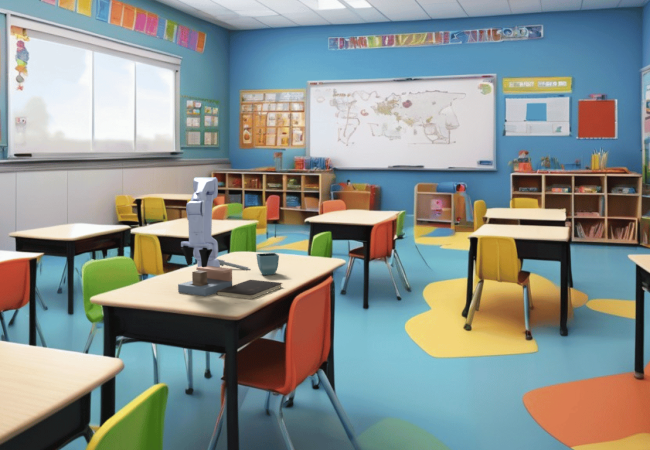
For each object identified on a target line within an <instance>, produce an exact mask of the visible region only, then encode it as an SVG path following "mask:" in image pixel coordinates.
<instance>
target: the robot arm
mask: <svg viewBox="0 0 650 450" xmlns="http://www.w3.org/2000/svg"><path fill="white" fill-rule="evenodd" d="M192 188H193V194H192V195H191V198H190V201H188V202H187V203H186V207H185V210H186V211H185V212H186V217H187V218H186V220H187V221H188V241H187V240H186V241H181V242H180V247H181V248H180V250H181V252H182V253H183V256H184V258H185V261H186V265H187V266H192V265H193V261H194V260H193V257H194V258H195V259H196V261H197V267H201V266H202V267H207V266H214V267H221V265H220V263H219V261H218V260H217V259H218V256H219V243H218V241H217V239H215V238H214V237H213V236H212V231H213V230H212V228H213V227H212V226H213V225H212V224H213V223H212V222H213V202H214V199H217V198H218V193H219V192H218V190H219V183H218V178H217V177H216V176H215V177H194V178H193V181H192ZM197 271H199V270H197Z"/></svg>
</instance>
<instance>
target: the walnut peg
mask: <svg viewBox="0 0 650 450" xmlns="http://www.w3.org/2000/svg"><path fill="white" fill-rule="evenodd" d="M191 276H192V277H191V278H192V280H191V281H192V283H193V285H196V286H204V285H207V271H201V270H199V271H198V270H194V271H192V273H191Z"/></svg>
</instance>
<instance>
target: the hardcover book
mask: <svg viewBox="0 0 650 450" xmlns="http://www.w3.org/2000/svg"><path fill="white" fill-rule="evenodd" d="M282 284H283V282H277V281H276V282H275V281H268V280H257V279H247V280H245V281H242V282H238V283H236V284H232V286H230V287H227V288H224V289H221V290H218V291H217V293H216V296H224V297H232V298H241V299H250V300H251V299H252V300H253V299H255V298H257V297H260V296H262V295H266V294H267V292H268V293H270V292H273V291H274V289H275V290H278V289H280V288H282ZM279 287H280V288H279ZM277 288H278V289H277ZM272 290H273V291H272Z"/></svg>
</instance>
